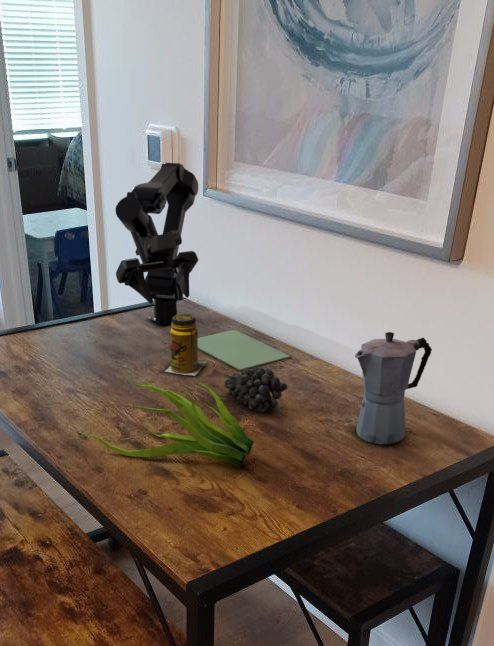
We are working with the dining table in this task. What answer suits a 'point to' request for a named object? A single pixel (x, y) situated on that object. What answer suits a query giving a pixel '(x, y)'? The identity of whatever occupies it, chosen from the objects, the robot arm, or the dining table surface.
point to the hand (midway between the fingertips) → (170, 299)
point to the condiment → (184, 346)
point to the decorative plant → (196, 432)
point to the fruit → (256, 388)
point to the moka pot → (387, 386)
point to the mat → (239, 349)
